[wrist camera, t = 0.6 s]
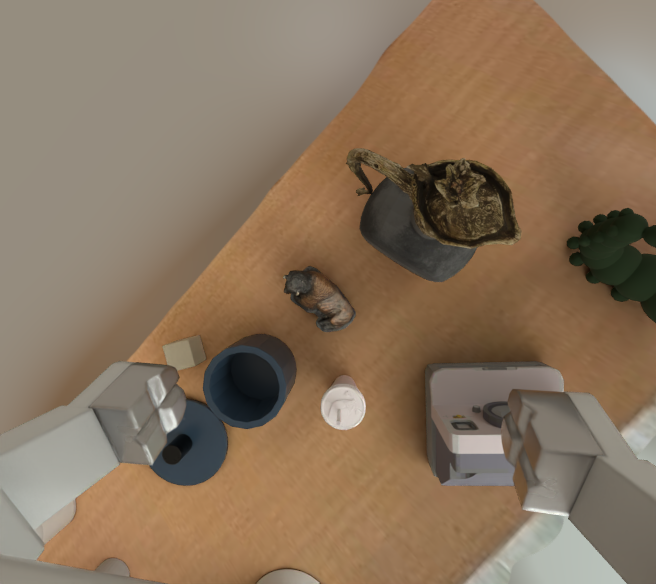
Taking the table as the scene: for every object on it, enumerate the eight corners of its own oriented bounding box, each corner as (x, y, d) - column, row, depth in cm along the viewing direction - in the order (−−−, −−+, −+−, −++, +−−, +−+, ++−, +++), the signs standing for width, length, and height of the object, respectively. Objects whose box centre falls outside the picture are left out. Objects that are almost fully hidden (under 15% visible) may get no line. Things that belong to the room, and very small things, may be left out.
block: (206, 359, 60) (195, 366, 56) (182, 365, 61) (169, 372, 56) (199, 334, 60) (187, 339, 56) (175, 340, 61) (162, 345, 56)
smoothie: (318, 378, 59) (307, 411, 45) (351, 360, 59) (350, 387, 45) (337, 411, 59) (333, 454, 45) (370, 392, 59) (376, 430, 45)
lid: (238, 471, 61) (228, 490, 56) (158, 488, 62) (140, 508, 57) (216, 388, 61) (203, 399, 55) (135, 407, 62) (115, 420, 57)
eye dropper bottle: (85, 500, 63) (23, 553, 52) (69, 524, 64) (5, 582, 52) (65, 486, 64) (-1, 536, 52) (50, 510, 64) (-19, 565, 52)
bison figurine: (363, 307, 58) (365, 314, 48) (335, 338, 59) (331, 352, 49) (309, 258, 58) (300, 256, 48) (281, 290, 59) (266, 294, 49)
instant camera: (561, 362, 56) (636, 395, 41) (540, 486, 58) (606, 561, 43) (427, 345, 58) (453, 370, 43) (410, 466, 59) (430, 532, 44)
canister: (304, 395, 60) (295, 418, 50) (236, 410, 61) (215, 436, 51) (286, 326, 59) (273, 336, 50) (218, 343, 60) (193, 356, 51)
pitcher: (430, 289, 57) (515, 308, 27) (331, 224, 58) (309, 174, 28) (469, 232, 56) (601, 187, 26) (368, 167, 57) (386, 51, 27)
